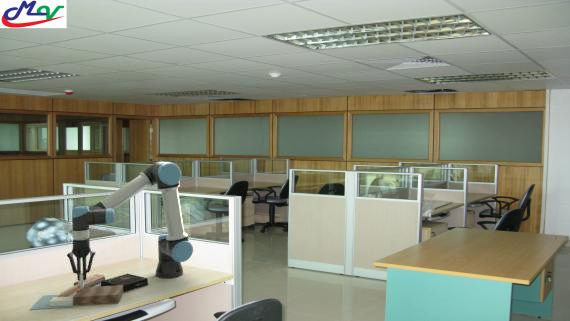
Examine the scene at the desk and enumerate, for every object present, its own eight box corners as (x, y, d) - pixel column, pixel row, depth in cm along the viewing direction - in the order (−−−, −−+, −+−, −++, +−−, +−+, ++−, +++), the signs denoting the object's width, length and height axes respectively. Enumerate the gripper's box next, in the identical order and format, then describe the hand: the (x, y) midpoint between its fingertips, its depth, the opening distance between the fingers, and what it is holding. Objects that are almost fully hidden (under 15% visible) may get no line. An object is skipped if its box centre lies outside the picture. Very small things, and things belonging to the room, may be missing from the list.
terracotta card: (82, 286, 240) (80, 282, 240) (79, 290, 234) (77, 286, 234) (63, 296, 238) (60, 292, 238) (59, 300, 233) (57, 296, 232)
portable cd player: (127, 280, 267) (126, 273, 267) (147, 285, 258) (147, 278, 258) (100, 288, 254) (100, 280, 254) (121, 294, 244) (121, 286, 244)
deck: (123, 293, 244) (122, 285, 244) (118, 302, 229) (118, 294, 229) (80, 295, 241) (80, 287, 240) (73, 305, 226) (72, 297, 226)
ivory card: (76, 300, 232) (75, 296, 232) (72, 304, 226) (72, 300, 226) (53, 301, 230) (53, 297, 230) (49, 306, 225) (49, 301, 224)
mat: (82, 293, 243) (82, 293, 243) (72, 307, 224) (72, 306, 224) (43, 296, 240) (43, 295, 240) (29, 310, 221) (29, 309, 221)
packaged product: (93, 272, 265) (108, 274, 262) (94, 281, 266) (108, 283, 262) (68, 282, 249) (83, 284, 245) (68, 291, 249) (84, 293, 245)
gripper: (64, 240, 231) (65, 290, 232) (93, 239, 234) (94, 288, 235) (68, 237, 239) (69, 285, 240) (96, 236, 241) (97, 283, 242)
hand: (82, 286), depth 237 cm, fingers closed
